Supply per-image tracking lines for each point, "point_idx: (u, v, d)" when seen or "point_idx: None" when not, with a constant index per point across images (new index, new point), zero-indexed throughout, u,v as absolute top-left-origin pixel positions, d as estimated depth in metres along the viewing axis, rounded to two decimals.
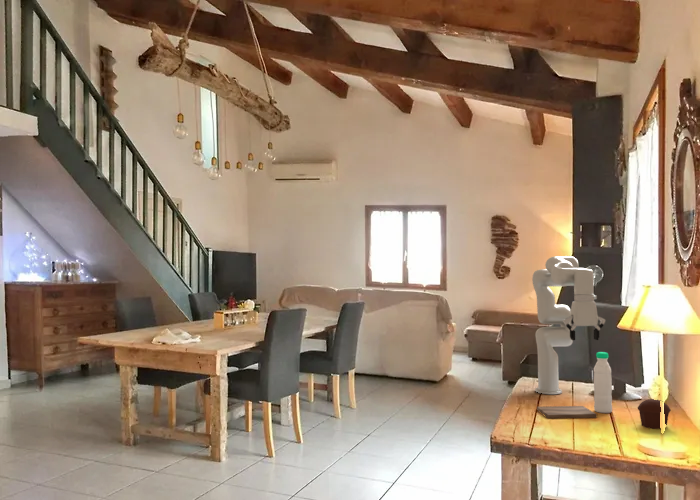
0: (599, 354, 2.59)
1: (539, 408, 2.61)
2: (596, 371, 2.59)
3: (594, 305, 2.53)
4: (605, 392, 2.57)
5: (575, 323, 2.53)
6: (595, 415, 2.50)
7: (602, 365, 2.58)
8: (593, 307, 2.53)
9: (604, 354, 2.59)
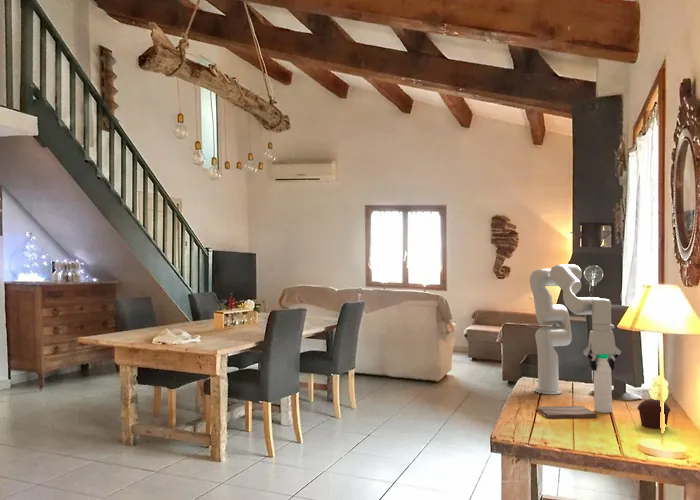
0: None
1: (539, 408, 2.61)
2: (596, 371, 2.59)
3: (612, 334, 2.59)
4: (605, 392, 2.57)
5: (593, 352, 2.59)
6: (595, 415, 2.50)
7: (602, 365, 2.58)
8: (611, 336, 2.59)
9: (604, 354, 2.59)
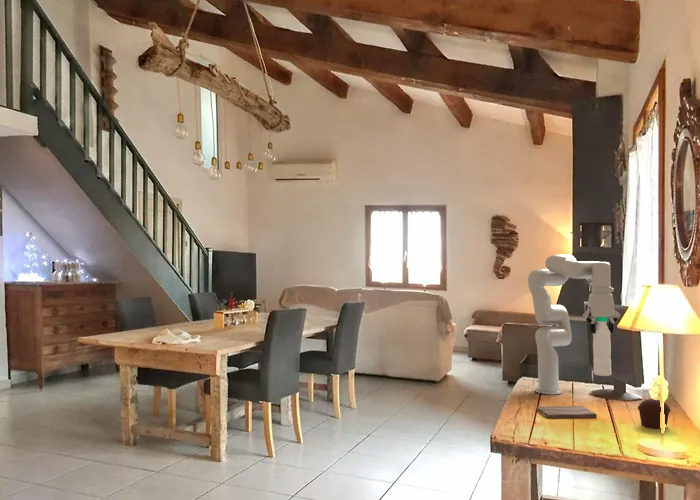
0: None
1: (539, 408, 2.61)
2: (595, 334, 2.60)
3: (611, 297, 2.59)
4: (604, 354, 2.57)
5: (593, 315, 2.59)
6: (595, 415, 2.50)
7: (601, 328, 2.59)
8: (610, 299, 2.59)
9: (603, 317, 2.59)
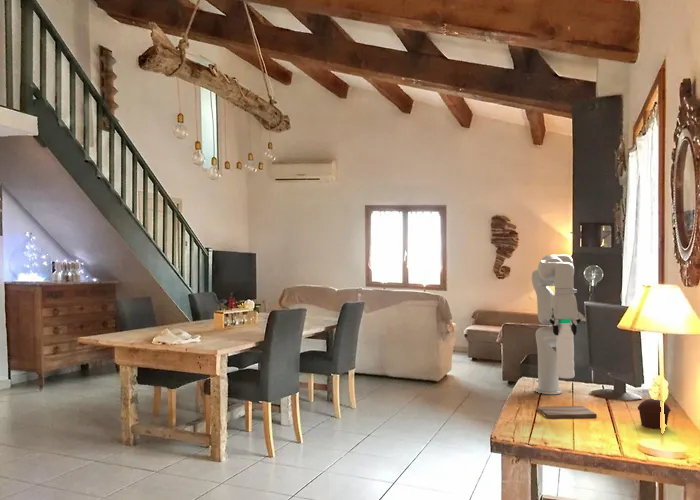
0: (561, 319, 2.56)
1: (539, 408, 2.61)
2: (558, 336, 2.56)
3: (574, 299, 2.56)
4: (567, 357, 2.54)
5: (555, 316, 2.56)
6: (595, 415, 2.50)
7: (564, 330, 2.55)
8: (573, 301, 2.56)
9: (566, 319, 2.56)
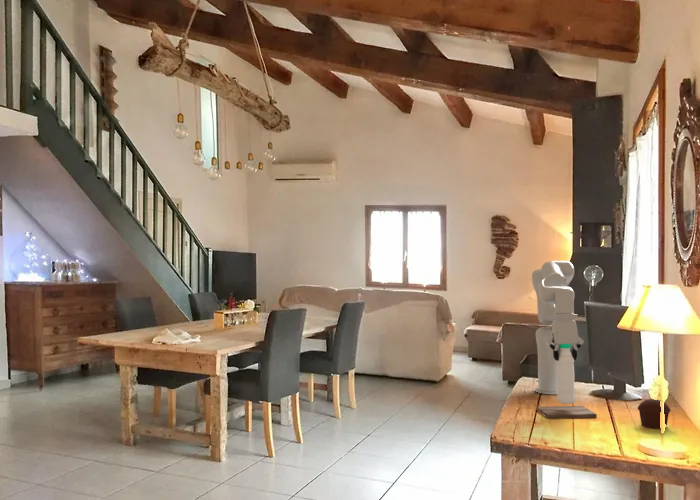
0: None
1: (539, 408, 2.61)
2: (558, 361, 2.56)
3: (574, 324, 2.56)
4: (567, 382, 2.54)
5: (556, 342, 2.56)
6: (595, 415, 2.50)
7: (564, 355, 2.55)
8: (573, 326, 2.55)
9: (566, 344, 2.55)
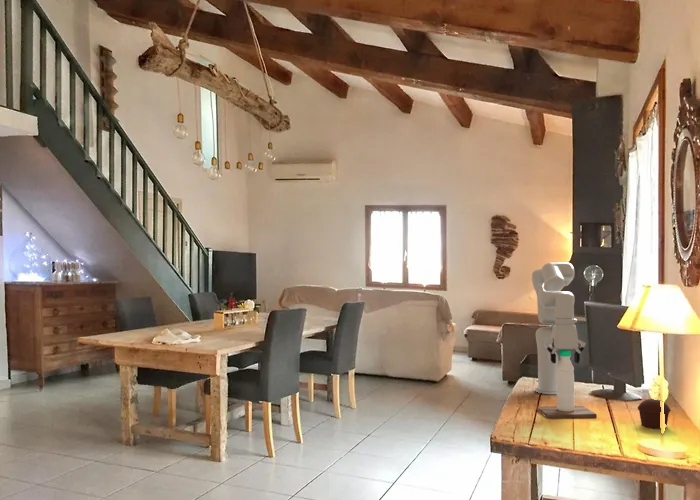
0: (561, 352, 2.56)
1: (539, 408, 2.61)
2: (558, 369, 2.56)
3: (574, 329, 2.56)
4: (567, 390, 2.54)
5: (556, 346, 2.56)
6: (595, 415, 2.50)
7: (564, 363, 2.55)
8: (573, 331, 2.55)
9: (566, 352, 2.55)
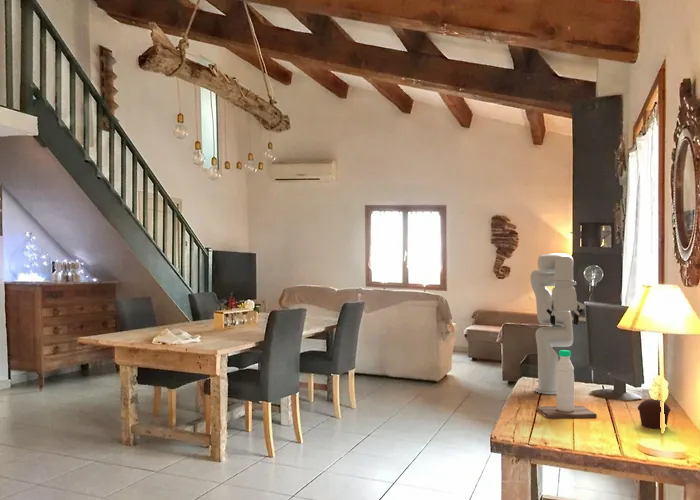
0: (561, 352, 2.56)
1: (539, 408, 2.61)
2: (558, 369, 2.56)
3: (574, 291, 2.60)
4: (567, 390, 2.54)
5: (555, 308, 2.60)
6: (595, 415, 2.50)
7: (564, 363, 2.55)
8: (573, 293, 2.60)
9: (566, 352, 2.55)
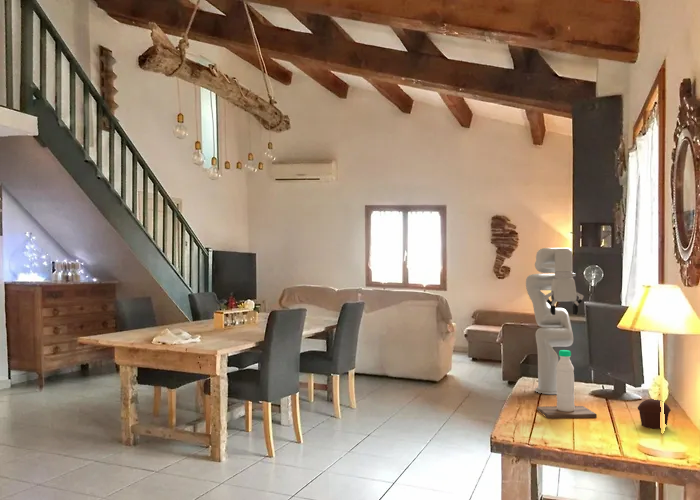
0: (561, 352, 2.56)
1: (539, 408, 2.61)
2: (558, 369, 2.56)
3: (573, 282, 2.70)
4: (567, 390, 2.54)
5: (555, 299, 2.70)
6: (595, 415, 2.50)
7: (564, 363, 2.55)
8: (572, 284, 2.70)
9: (566, 352, 2.55)
